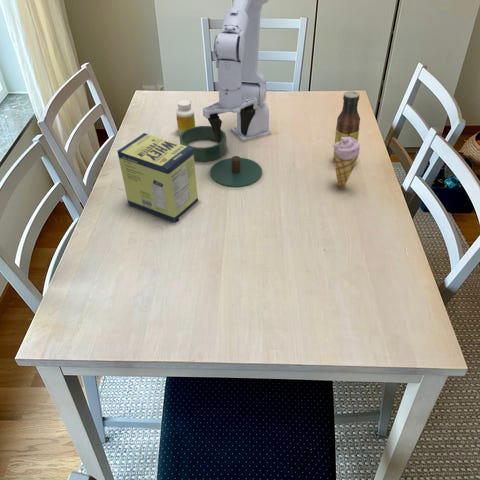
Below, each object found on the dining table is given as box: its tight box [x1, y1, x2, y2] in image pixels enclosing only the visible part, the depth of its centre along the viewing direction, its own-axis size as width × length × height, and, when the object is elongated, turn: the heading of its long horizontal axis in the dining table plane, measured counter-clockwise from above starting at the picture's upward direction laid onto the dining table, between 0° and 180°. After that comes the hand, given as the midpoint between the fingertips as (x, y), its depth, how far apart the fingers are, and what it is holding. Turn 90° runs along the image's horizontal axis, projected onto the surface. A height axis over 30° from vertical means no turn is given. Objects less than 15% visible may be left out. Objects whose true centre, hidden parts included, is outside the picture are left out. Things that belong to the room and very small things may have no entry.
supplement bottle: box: [175, 99, 196, 136], centre depth 152 cm, size 5×5×10 cm
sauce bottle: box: [333, 90, 361, 163], centre depth 135 cm, size 7×6×20 cm
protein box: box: [116, 132, 199, 223], centre depth 124 cm, size 10×16×16 cm
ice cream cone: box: [331, 137, 361, 189], centre depth 128 cm, size 7×6×15 cm
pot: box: [179, 125, 228, 163], centre depth 145 cm, size 13×14×5 cm
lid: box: [209, 155, 263, 188], centre depth 137 cm, size 14×14×5 cm
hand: (231, 137), depth 132 cm, fingers open, 7 cm apart
